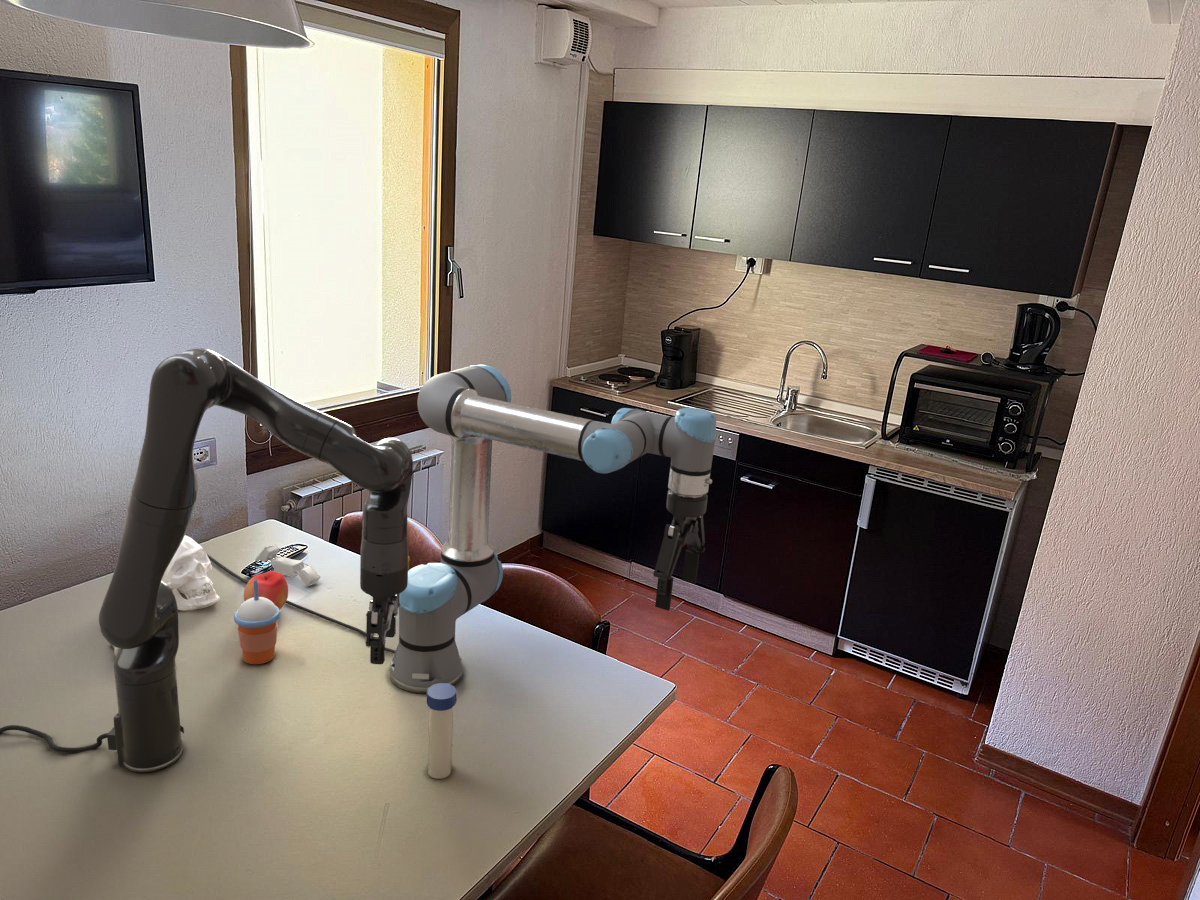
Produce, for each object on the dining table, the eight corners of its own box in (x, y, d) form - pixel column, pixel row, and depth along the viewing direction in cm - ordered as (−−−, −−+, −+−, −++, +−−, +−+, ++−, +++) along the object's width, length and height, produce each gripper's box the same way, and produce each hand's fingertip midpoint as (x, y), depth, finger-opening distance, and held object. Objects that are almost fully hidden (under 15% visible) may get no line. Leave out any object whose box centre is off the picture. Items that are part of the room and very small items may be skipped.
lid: (420, 704, 148) (420, 692, 147) (439, 690, 152) (439, 679, 152) (443, 714, 146) (443, 703, 145) (462, 700, 150) (462, 689, 149)
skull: (198, 620, 196) (196, 556, 191) (121, 600, 201) (117, 538, 197) (238, 597, 208) (236, 536, 204) (164, 579, 214) (161, 520, 209)
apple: (273, 600, 207) (272, 562, 204) (297, 613, 202) (296, 575, 199) (237, 614, 200) (234, 575, 197) (261, 628, 194) (259, 588, 191)
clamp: (253, 565, 223) (254, 542, 221) (265, 560, 226) (266, 537, 224) (309, 593, 215) (310, 569, 213) (320, 588, 218) (321, 564, 216)
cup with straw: (266, 671, 178) (262, 594, 173) (227, 664, 180) (222, 586, 174) (290, 650, 187) (287, 575, 181) (252, 643, 188) (248, 568, 183)
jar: (423, 773, 152) (424, 694, 148) (438, 761, 156) (440, 684, 151) (441, 782, 150) (443, 702, 146) (455, 769, 154) (458, 691, 149)
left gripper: (371, 541, 145) (370, 627, 150) (349, 579, 131) (349, 671, 136) (415, 545, 145) (413, 629, 150) (398, 582, 132) (397, 674, 136)
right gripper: (681, 516, 147) (669, 626, 153) (728, 478, 168) (716, 576, 174) (642, 506, 150) (631, 614, 156) (693, 470, 171) (682, 566, 178)
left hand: (383, 649), depth 143 cm, fingers open, 8 cm apart
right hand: (676, 594), depth 165 cm, fingers open, 13 cm apart
